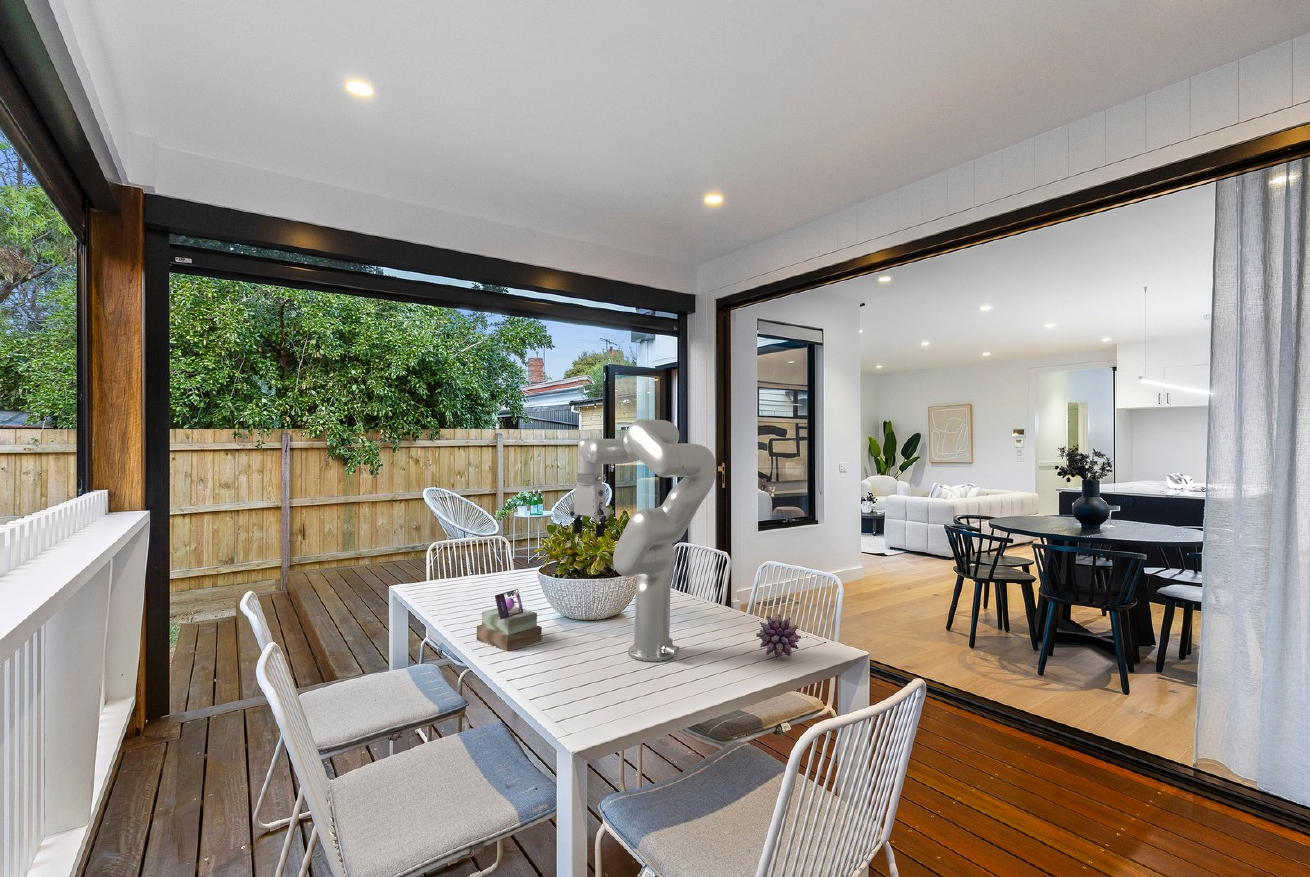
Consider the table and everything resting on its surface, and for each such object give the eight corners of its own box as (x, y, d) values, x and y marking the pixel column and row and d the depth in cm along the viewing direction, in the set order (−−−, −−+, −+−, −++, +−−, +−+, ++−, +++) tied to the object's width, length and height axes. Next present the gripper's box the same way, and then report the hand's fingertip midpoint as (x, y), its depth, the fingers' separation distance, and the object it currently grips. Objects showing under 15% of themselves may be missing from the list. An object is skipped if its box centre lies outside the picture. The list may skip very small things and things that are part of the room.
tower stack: (541, 640, 181) (542, 612, 181) (507, 651, 171) (507, 621, 171) (510, 630, 189) (511, 603, 189) (476, 639, 180) (477, 611, 180)
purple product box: (497, 594, 174) (519, 588, 181) (484, 598, 176) (507, 591, 184) (503, 619, 172) (525, 611, 180) (489, 622, 175) (512, 614, 183)
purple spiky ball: (786, 669, 162) (787, 622, 162) (747, 657, 170) (748, 613, 170) (808, 658, 171) (809, 614, 171) (770, 647, 179) (771, 605, 179)
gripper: (618, 480, 192) (617, 537, 192) (578, 477, 203) (577, 530, 203) (601, 481, 186) (600, 539, 186) (561, 478, 197) (560, 533, 197)
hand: (588, 535), depth 194 cm, fingers open, 9 cm apart
